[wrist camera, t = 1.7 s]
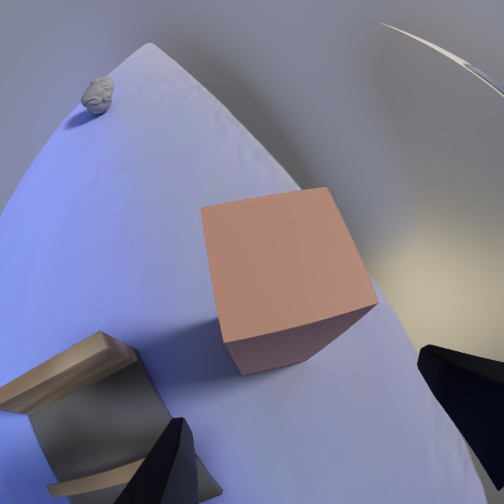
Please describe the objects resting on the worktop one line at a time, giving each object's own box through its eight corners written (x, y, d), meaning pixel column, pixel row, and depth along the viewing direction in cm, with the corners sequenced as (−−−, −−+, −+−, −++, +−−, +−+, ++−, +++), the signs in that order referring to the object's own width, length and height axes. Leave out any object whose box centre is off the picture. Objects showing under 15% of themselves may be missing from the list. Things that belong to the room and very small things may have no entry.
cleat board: (222, 490, 14) (211, 520, 9) (93, 524, 10) (58, 543, 5) (136, 349, 20) (100, 330, 14) (31, 403, 16) (-13, 394, 11)
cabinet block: (307, 360, 19) (379, 302, 8) (242, 375, 19) (223, 343, 7) (287, 292, 22) (319, 173, 11) (227, 305, 22) (198, 192, 10)
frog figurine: (126, 102, 40) (117, 71, 34) (97, 124, 37) (84, 91, 31) (109, 100, 41) (100, 71, 35) (82, 119, 39) (70, 90, 32)
